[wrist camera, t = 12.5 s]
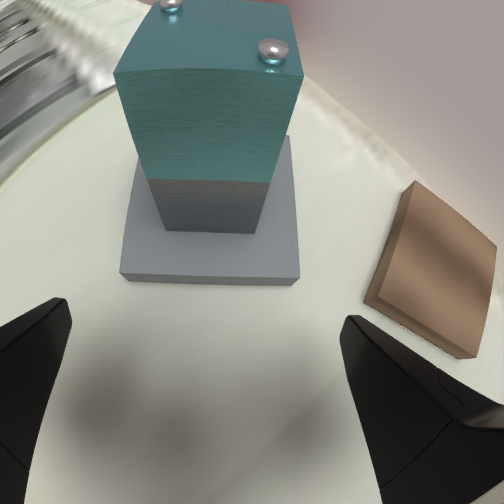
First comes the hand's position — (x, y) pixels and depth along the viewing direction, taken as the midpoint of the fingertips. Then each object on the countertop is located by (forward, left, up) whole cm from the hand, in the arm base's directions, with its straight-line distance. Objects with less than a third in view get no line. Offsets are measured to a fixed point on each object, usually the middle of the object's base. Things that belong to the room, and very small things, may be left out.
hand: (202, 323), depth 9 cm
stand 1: (+5, +6, -9) cm, 12 cm away
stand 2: (+15, -8, -9) cm, 19 cm away
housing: (+5, +6, -7) cm, 10 cm away
